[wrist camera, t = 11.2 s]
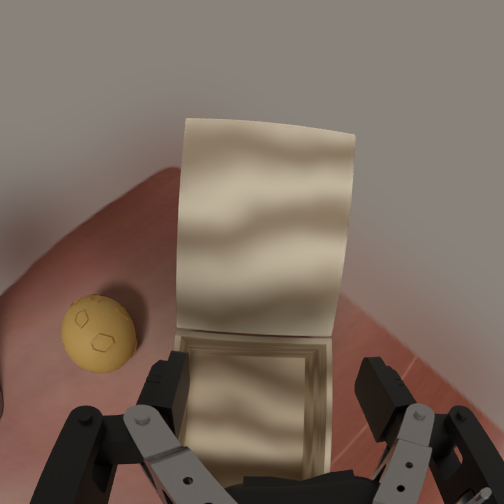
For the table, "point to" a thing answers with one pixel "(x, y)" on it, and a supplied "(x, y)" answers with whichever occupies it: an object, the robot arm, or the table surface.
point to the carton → (258, 405)
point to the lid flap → (262, 227)
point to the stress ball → (98, 334)
